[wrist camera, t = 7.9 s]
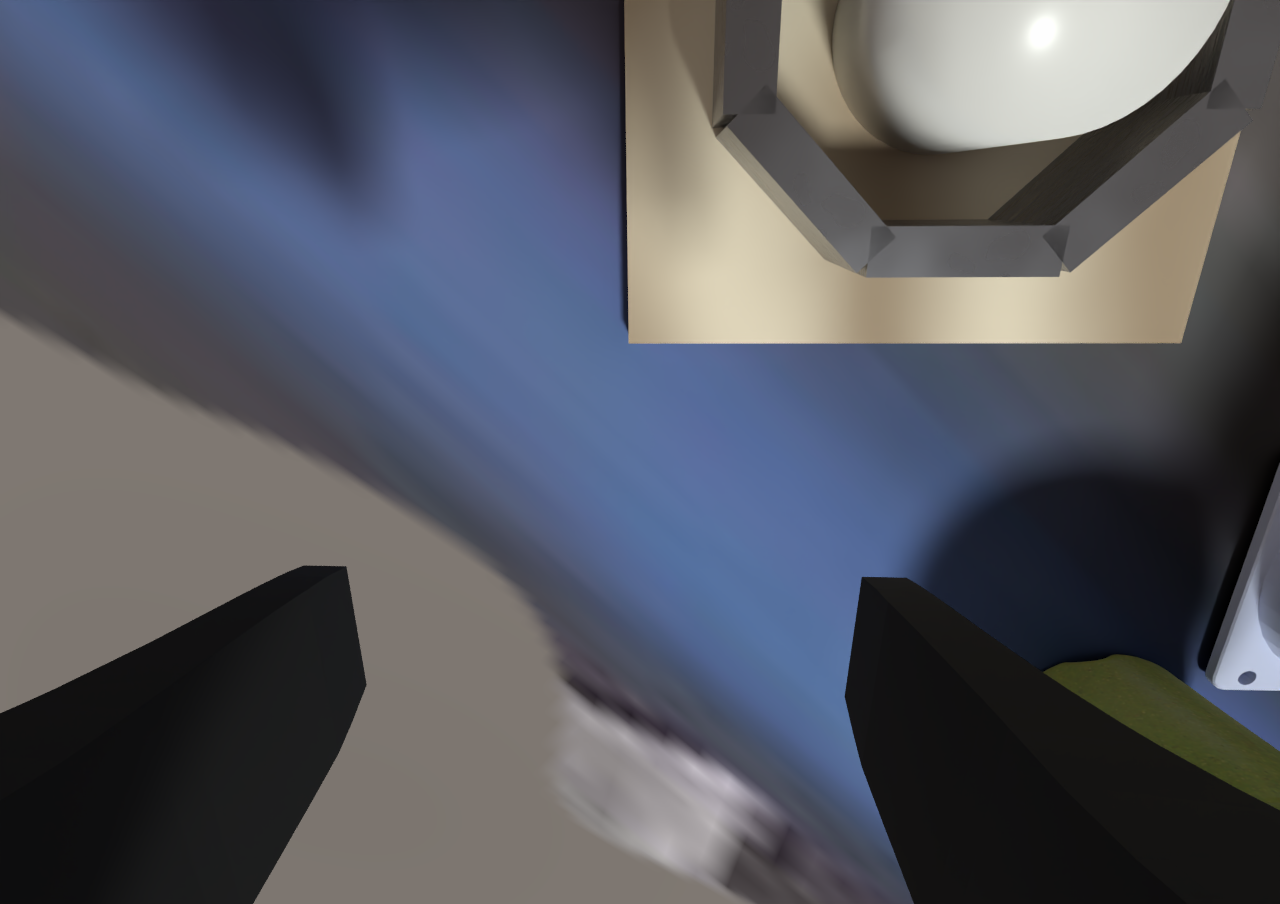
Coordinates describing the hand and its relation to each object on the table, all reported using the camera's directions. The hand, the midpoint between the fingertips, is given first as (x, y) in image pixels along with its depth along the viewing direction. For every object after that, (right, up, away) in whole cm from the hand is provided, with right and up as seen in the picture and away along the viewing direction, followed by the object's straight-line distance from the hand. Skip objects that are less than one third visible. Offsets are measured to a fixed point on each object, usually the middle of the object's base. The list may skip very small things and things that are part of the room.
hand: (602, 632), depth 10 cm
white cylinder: (+7, +12, +5) cm, 15 cm away
